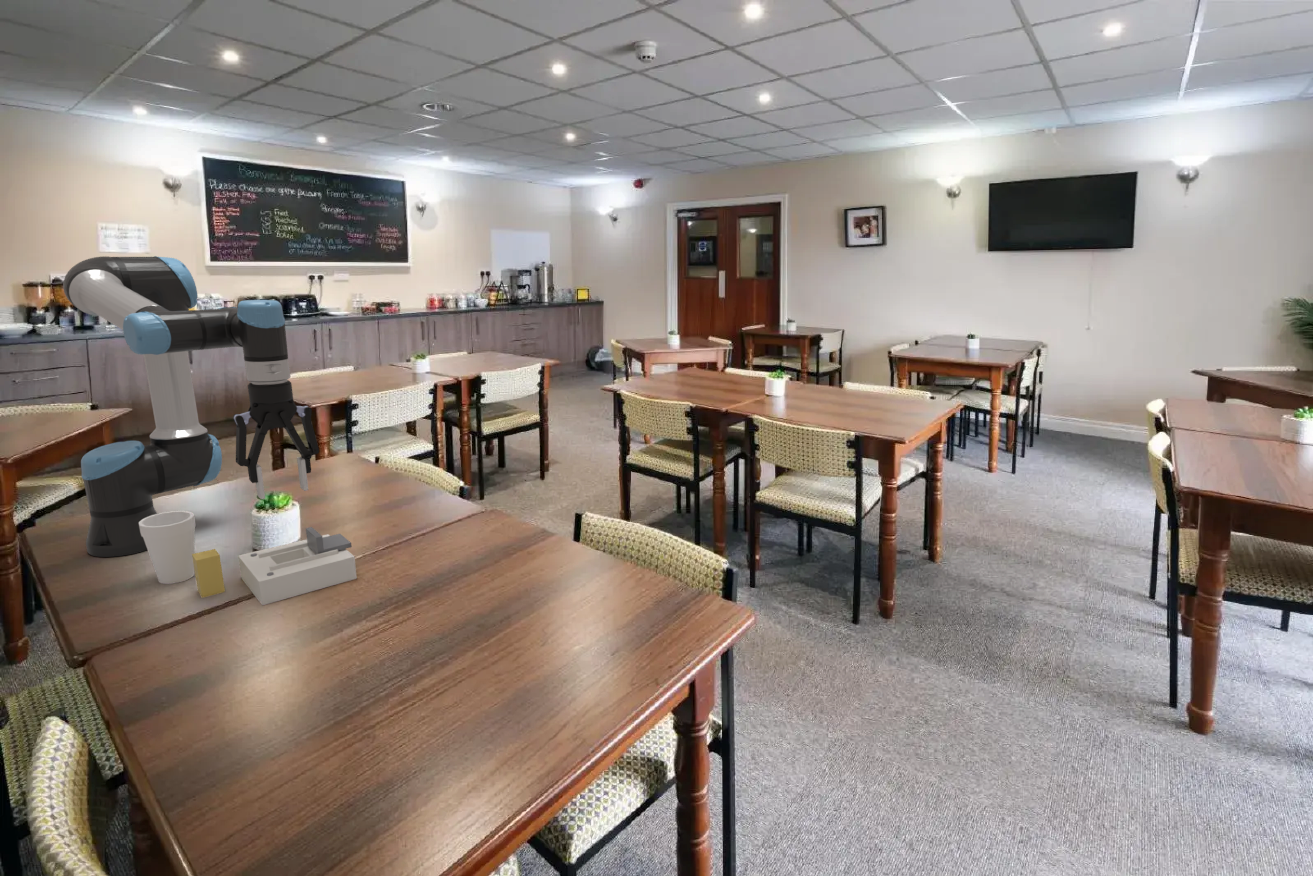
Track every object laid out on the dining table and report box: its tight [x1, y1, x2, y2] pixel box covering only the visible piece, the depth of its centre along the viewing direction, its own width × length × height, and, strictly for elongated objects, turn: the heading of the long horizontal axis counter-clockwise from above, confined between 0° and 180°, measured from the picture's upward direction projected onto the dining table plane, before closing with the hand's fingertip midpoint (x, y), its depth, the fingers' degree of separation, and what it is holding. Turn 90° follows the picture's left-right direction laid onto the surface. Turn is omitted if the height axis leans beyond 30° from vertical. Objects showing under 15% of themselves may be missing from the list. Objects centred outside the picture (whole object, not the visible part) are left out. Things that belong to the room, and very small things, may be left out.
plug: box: [192, 548, 226, 599], centre depth 141 cm, size 4×4×8 cm
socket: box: [237, 533, 357, 606], centre depth 148 cm, size 16×18×6 cm
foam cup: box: [139, 510, 197, 585], centre depth 146 cm, size 10×9×13 cm
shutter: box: [305, 526, 352, 554], centre depth 151 cm, size 7×7×4 cm
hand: (283, 492), depth 143 cm, fingers open, 7 cm apart
